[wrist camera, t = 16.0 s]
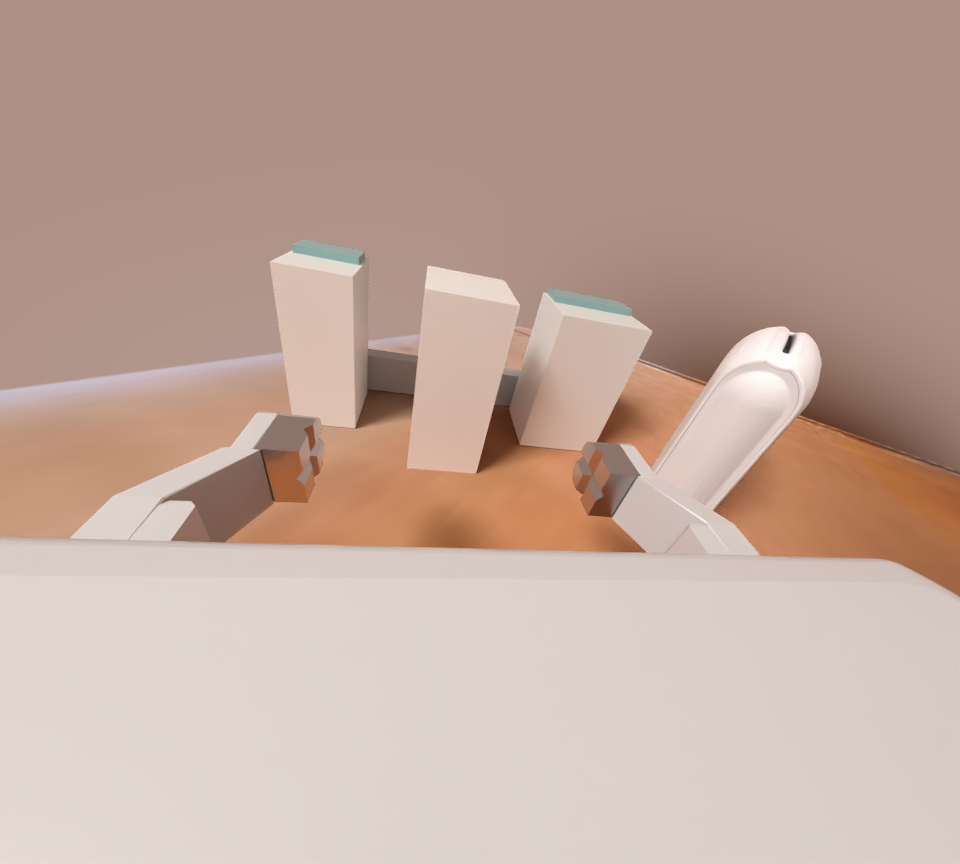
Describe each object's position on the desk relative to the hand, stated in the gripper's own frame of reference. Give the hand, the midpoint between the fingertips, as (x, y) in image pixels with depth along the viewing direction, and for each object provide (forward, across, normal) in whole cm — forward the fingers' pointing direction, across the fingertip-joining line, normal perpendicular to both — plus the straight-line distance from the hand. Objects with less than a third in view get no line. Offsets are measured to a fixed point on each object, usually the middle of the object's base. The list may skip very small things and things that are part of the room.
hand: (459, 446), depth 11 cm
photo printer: (+8, -17, +9) cm, 21 cm away
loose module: (+11, 0, +9) cm, 14 cm away
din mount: (+15, -1, +9) cm, 17 cm away
